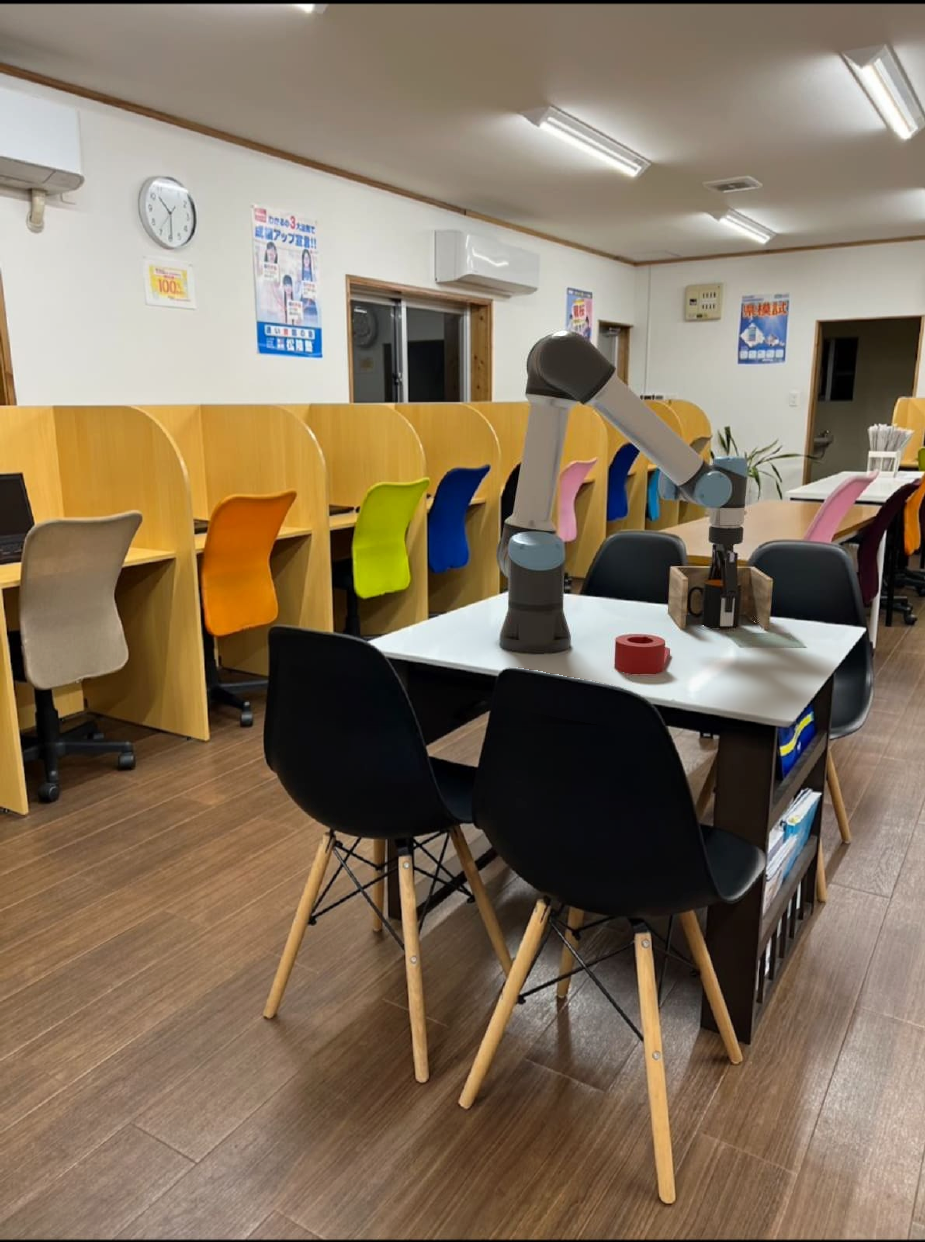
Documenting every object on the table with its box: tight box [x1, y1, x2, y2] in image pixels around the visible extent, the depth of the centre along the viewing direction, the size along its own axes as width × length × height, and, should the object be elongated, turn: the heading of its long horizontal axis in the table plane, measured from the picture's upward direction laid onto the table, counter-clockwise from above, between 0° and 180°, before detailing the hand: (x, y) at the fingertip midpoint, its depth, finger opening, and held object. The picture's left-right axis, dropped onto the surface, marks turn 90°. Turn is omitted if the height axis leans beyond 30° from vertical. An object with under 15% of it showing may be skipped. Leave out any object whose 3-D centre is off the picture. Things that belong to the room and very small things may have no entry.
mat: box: [725, 631, 808, 649], centre depth 193 cm, size 14×12×1 cm
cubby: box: [667, 565, 774, 631], centre depth 209 cm, size 20×16×12 cm
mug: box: [687, 579, 741, 630], centre depth 207 cm, size 8×12×10 cm
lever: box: [613, 633, 671, 675], centre depth 175 cm, size 18×9×7 cm, turn 147°
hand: (720, 619), depth 207 cm, fingers open, 11 cm apart
